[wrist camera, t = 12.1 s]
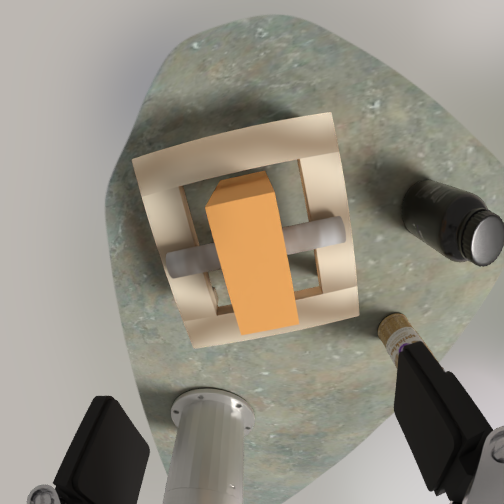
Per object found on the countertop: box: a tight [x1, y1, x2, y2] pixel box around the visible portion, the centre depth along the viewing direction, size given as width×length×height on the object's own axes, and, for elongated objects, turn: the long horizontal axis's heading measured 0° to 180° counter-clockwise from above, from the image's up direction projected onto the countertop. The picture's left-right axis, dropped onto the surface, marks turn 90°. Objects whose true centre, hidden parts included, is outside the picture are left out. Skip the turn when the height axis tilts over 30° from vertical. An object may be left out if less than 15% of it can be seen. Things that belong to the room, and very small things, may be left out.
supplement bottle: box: [402, 180, 504, 267], centre depth 26 cm, size 7×7×12 cm
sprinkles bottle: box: [378, 313, 447, 372], centre depth 31 cm, size 5×5×13 cm
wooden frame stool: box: [132, 112, 359, 349], centre depth 27 cm, size 17×15×11 cm
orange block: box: [205, 171, 299, 335], centre depth 24 cm, size 9×4×10 cm, turn 12°
